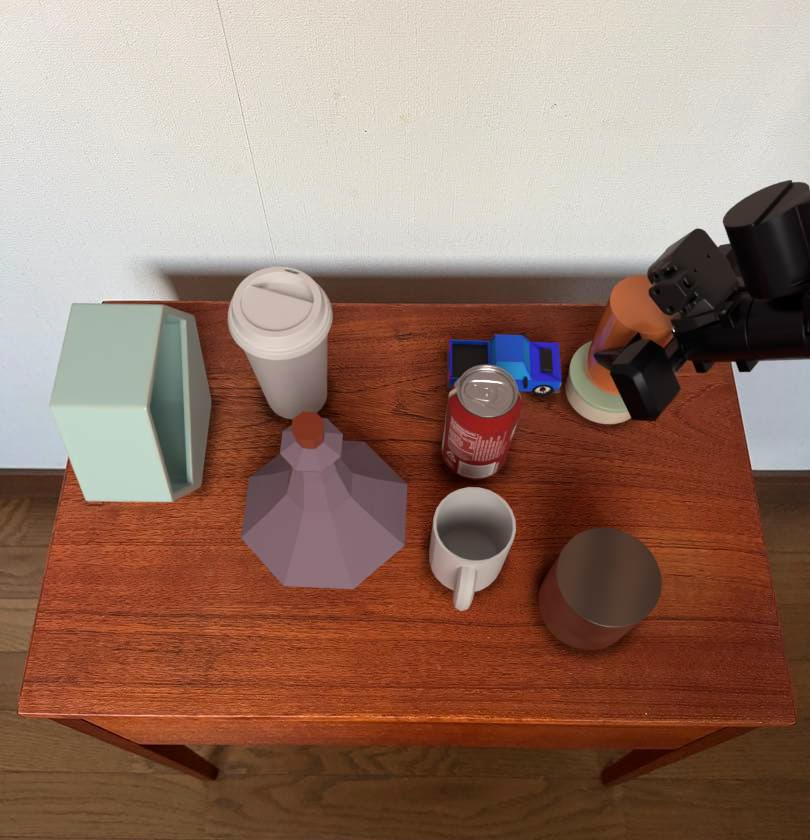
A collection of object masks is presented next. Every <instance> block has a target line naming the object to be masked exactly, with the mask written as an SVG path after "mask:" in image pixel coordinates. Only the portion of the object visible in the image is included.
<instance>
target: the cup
mask: <svg viewBox="0 0 810 840" xmlns="http://www.w3.org/2000/svg"><path fill="white" fill-rule="evenodd" d="M516 531H517V523H516V517H515V515H514V512H513V509H512V508H511V506H510V505H509V503H508V502H507V501H506V500H505V499H504V498H503V497H502V496H501V495H499V494H498V493H496V492H494V491H492V490H490V489H486V488H482V487H478V486H477V487H474V486H468V487H464V488H459V489H457V490H454V491H452V492H451V493H449V494H447V495H446V496H445V497H444V498H443V499H441V501H440V502H439V504H438V506H437V507H436V509H435V512H434V515H433V520H432V527H431V534H430V540H429V548H428V562H429V566H430V569H431V572H432V573H433V575H434V577H435V578H436V580H438V582H439V583H441V585H443V586H444V587H446V588H448V589H450V590H451V591H453V592H452V603H453V606H454V608H455V610H458V611H459V612H463V611H466V610H469V608H470V606H471V605H472V603H473V600H474V597H475V593H476V592H479V591H482V590H484V589H486V588H487V587H489V586H490V585H491V584H492V583H493V582H494V581H495V580H496V579H497V577H498V575H499V574H500V572H501V570H502V568H503V566H504V563H505V561H506V559H507V557H508V554H509V552H510V550H511V547H512V545H513V542H514V541H515V535H516V533H517V532H516Z"/></svg>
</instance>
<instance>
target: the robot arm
mask: <svg viewBox="0 0 810 840" xmlns="http://www.w3.org/2000/svg"><path fill="white" fill-rule="evenodd" d="M722 224H723V227H724V230H725V233H726V236H727V239H728V242H729V243H723V244H719V245H717V244H716V242H715V241H714V240H713V239H712V237H711V236H710V235H709V234H708V232H707V231H706V230H704V229H703V228H698V227H697V228H695V229H692V231H690V232H688V233H686V234H685V235H684V236H683V237H681V238H680V239H678V240H677V241H675V242H673V243H672V244H670V245H669V246H668V247H667V248H665V250H664V252H663V253H662V254H661V255H660V256H659V257H658V258H657V259H656V260H655V261H654V262H653V263H652V264H651V265H650V266H649V267H648V268H647V272H646V275H647V276H648V280H649V281H650V283H651V284H652V286H651V287H650V288H649V296H650V297H651V299H652V300H653V301H654V302H655V304H656V305H657V306H658V307H659V308H660V310H661V311H662V312H663V313H664V314H666V315H670V316H671V315H673V314H675V313H676V314H675V315H674V316H673V317H672V318H671V323H672V325H673V327H672V328H671V332H672V334H671V335H672V337H671V339H669V340H668V342H667V343H666V345H665V347H664V348H663V347H662V346H660V345H658V344H657V343H655V342H654V341H652V340H651V339H647V340H642V337H641V335H640V333H639V332H637V333H636V334H635V335H634V337H633V338H632V339H631V340H630V341H629V342H628V343H627V344H626V345H625V346H623V347H618V348H612V349H606V350H602V351H599V352H596V353H595V354H594V355H593V356H594V358H595V360H596V362H597V363H598V364H599V365H601V366H602V367H604V368H606V369H607V370H609V371H610V375H611V377H612V379H613V381H614V383H615V385H616V387H617V390H618V392H619V394H620V396H621V398H622V400H623V402H624V404H625V406H626V408H627V410H628V412H629V414H630V416H631V418H630V419H631V420H632V421H638V422H656V421H657V420H658V419H659V418H660V417H661V415H662V414H663V413H664V412H665V411H666V409H667V408H668V407H669V406H670V405H671V404H672V403H673V401H674V400H675V399H676V398H677V396H678V395H679V393H680V391H681V390H682V387H681V386H680V382H679V380H678V378H677V376H676V375H677V374H678V373H679V372H680V370H681V369H682V368H683V367H684V366H685V365H686V364H687V362H691V363H692V366H693V367H694V370H695V372H696V374H707V373H708V372H709V371H710V370H711V369H712V367H714V365H715V363H735V365H736V368H737V370H738V372H739V373H751V372H752V371H753V370H754V368H755V367H756V366H757V365H758V363H759V362H772V361H775V362H777V361H778V362H779V361H806V360H807V361H809V360H810V185H809V184H808V183H807V182H803V181H793V179H788V180H784V181H779V182H776V183H774V184H771V185H768V186H766V187H765V186H764V187H763V188H761V189H759V190H756V191H754V192H753V193H751V194H749V195H748V196H746V197H743V199H741V200H740V201H738V202H737V203H735V204H734V205H733V206H732V207H730V208H729V209H728V211H726V212H725V214H724V216H723V217H722ZM677 312H679V313H677Z"/></svg>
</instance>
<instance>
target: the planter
mask: <svg viewBox="0 0 810 840" xmlns="http://www.w3.org/2000/svg"><path fill="white" fill-rule="evenodd" d="M200 341H201V340H200V336H199V332H198V326H197V322H196V317H195V315H194V314H191V313H189V312H186V311H183V310H180V309H177V308H174V307H172V306H168V305H166V304H161V303H159V304H157V303H154V304H153V303H146V304H145V303H99V302H98V303H97V302H96V303H94V302H93V303H91V302H88V303H87V302H85V303H84V302H73V303H71V306H70V310H69V315H68V319H67V323H66V328H65V333H64V337H63V342H62V346H61V351H60V354H59V355H60V356H59V360H58V363H57V367H56V373H55V377H54V381H53V387H52V390H51V395H50V399H49V411H50V413H51V416H52V419H53V421H54V424H55V426H56V428H57V431H58V434H59V436H60V439H61V442H62V444H63V446H64V449H65V451H66V454H67V456H68V460H69V463H70V465H71V467H72V470H73V472H74V475H75V478H76V480H77V482H78V485H79V487H80V490H81V493H82V495H83V497H84V500H85V502H105V503H106V502H107V503H108V502H109V503H110V502H111V503H112V502H113V503H114V502H116V503H118V502H119V503H120V502H121V503H122V502H123V503H174V502H176V501H178V500H180V499H182V498H183V497H185V496H187V495H189V494H191V493H193V492H194V491H195V492H196V491H197V490H198V489H200V488H201V487H202V484H203V476H204V467H205V460H206V453H207V443H208V437H209V436H208V435H209V428H210V420H211V419H210V418H211V411H212V396H211V391H210V385H209V380H208V376H207V371H206V366H205V361H204V356H203V351H202V346H201V342H200Z"/></svg>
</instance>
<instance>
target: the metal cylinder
mask: <svg viewBox="0 0 810 840" xmlns="http://www.w3.org/2000/svg"><path fill="white" fill-rule="evenodd" d="M661 573H662V572H661V569H660V567H659V563H658V561H657V559H656V557H655V556H654V554H653V552H652V551H651V550H650V549H649V547H648V546H647V545H646V544H645V543H644V542H643V541H641V539H638V538H637V537H635V536H634V535H632V534H631V533H629V532H626V531H624V530H621V529H617V528H612V527H605V526H604V527H593V528H589V529H585V530H584V531H581V532H579V533H577V534H576V535H575V536H573V537H572V538H570V540H568V541H567V542H566V544H565V545H564V546H563V548H561V551H560V553H559V554H558V556H557V557H556V559H555V561H554V563H553V564H552V566H551V567H550V569H549V570H548V572H547V574H546V575H545V577H544V578H543V580H542V582H541V584H540V588H539V590H538V597H537V605H538V610H539V614H540V617H541V620H542V622H543V623H544V625H545V627H546V629H548V631H549V632H550V633H551V635H553V636H554V637H555V638H556V639H557V640H559V641H560V642H562V643H563V644H565V645H567V646H569V647H571V648H574V649H576V650H581V651H598V650H602V649H605V648H608V647H610V646H612V645H613V644H615V643H616V642H618V641H619V640H620V639H621V638H623V637H624V636H625V635H626V634H627V633H629V632H630V631H631V630H632V629H634V628H635V627H636V626H637V625H638V624H639V623H641V622H643V620H645V618H647V617H648V616H649V615H650V614H651V613H652V612H653V610H654V609H655V607H656V606H657V604H658V603H659V600H660V598H661V593H662V586H663V585H662V584H663V582H662V574H661Z"/></svg>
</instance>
